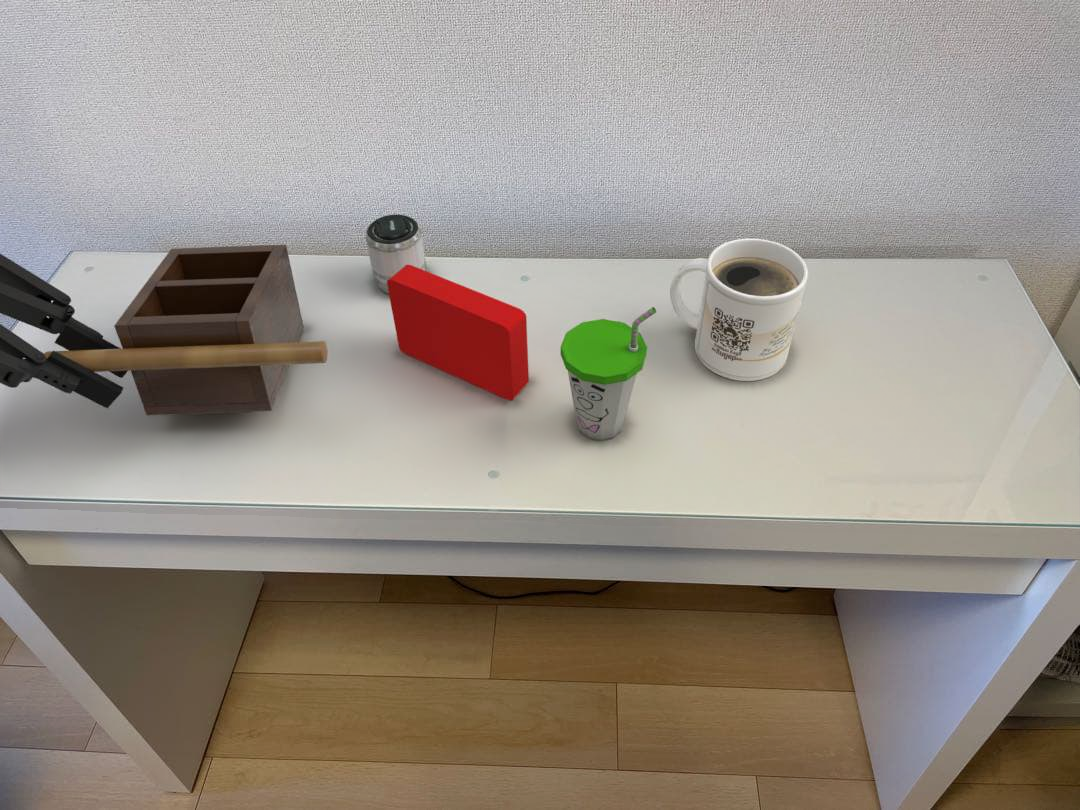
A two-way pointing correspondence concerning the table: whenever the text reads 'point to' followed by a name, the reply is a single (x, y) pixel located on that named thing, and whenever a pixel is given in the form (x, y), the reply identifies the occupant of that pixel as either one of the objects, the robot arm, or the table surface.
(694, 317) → the mug
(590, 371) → the cup
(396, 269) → the camera lens
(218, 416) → the table surface
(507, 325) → the red rounded slab
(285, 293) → the divided box with dowel
